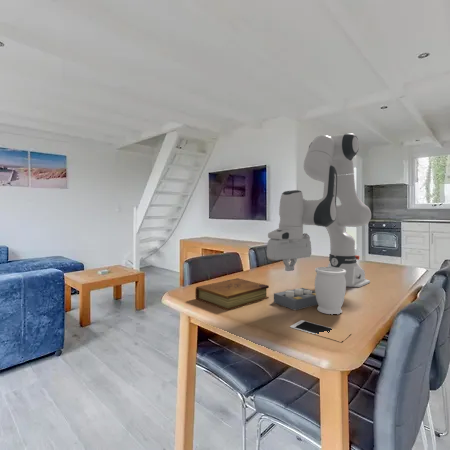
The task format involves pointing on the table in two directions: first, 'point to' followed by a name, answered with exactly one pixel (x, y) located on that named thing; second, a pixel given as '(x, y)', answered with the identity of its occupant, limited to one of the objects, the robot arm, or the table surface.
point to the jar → (330, 289)
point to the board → (296, 300)
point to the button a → (289, 294)
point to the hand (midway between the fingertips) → (289, 270)
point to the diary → (231, 293)
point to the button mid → (299, 292)
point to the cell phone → (310, 327)
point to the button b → (307, 291)
